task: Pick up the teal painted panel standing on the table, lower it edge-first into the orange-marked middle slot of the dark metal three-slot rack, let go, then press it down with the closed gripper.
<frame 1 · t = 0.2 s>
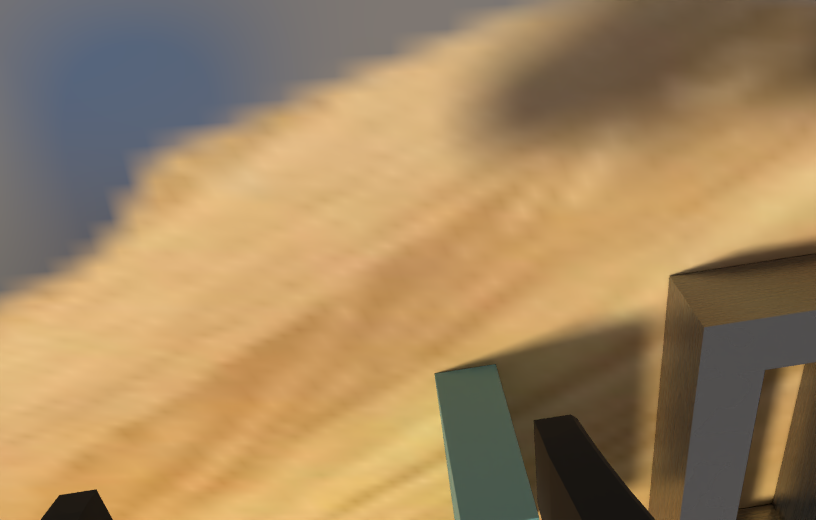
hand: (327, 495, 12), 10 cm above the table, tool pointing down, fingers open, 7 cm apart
panel: (473, 451, 26), on the table
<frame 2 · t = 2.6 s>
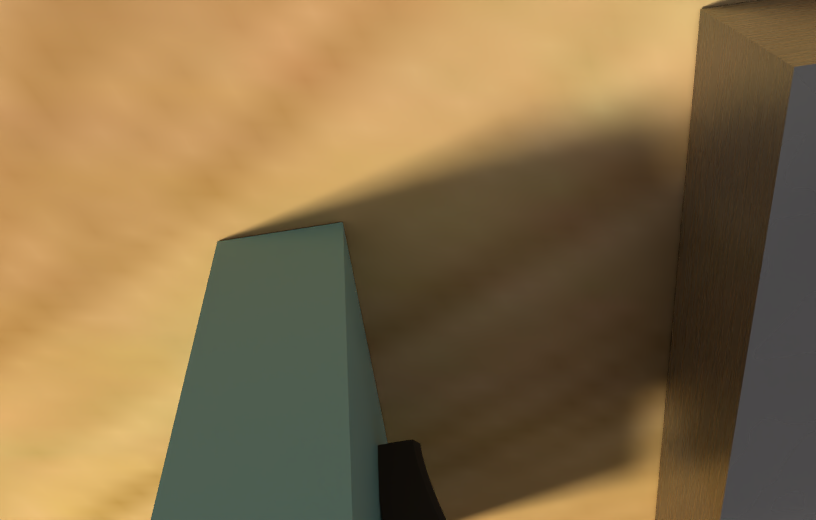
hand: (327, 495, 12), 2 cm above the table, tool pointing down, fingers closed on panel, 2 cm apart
panel: (327, 412, 14), on the table, touching gripper
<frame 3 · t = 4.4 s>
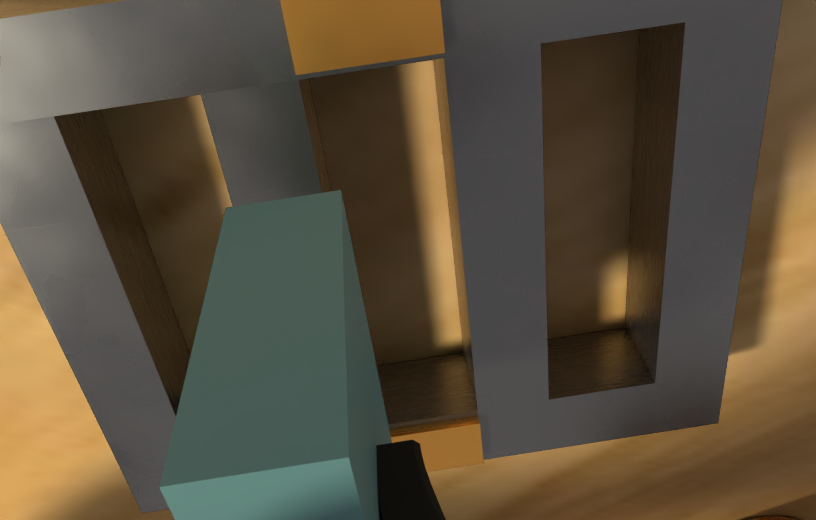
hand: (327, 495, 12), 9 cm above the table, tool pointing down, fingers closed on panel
rack: (393, 219, 20), on the table
panel: (326, 371, 15), point 6 cm above the table, touching gripper
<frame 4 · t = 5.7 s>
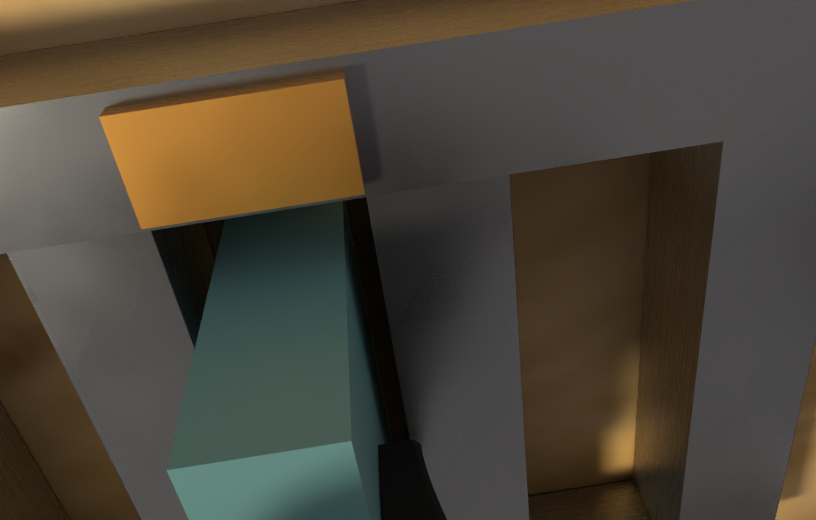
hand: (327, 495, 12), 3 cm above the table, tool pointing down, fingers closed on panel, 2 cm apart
rack: (326, 366, 15), on the table
panel: (327, 365, 15), resting in rack, touching gripper
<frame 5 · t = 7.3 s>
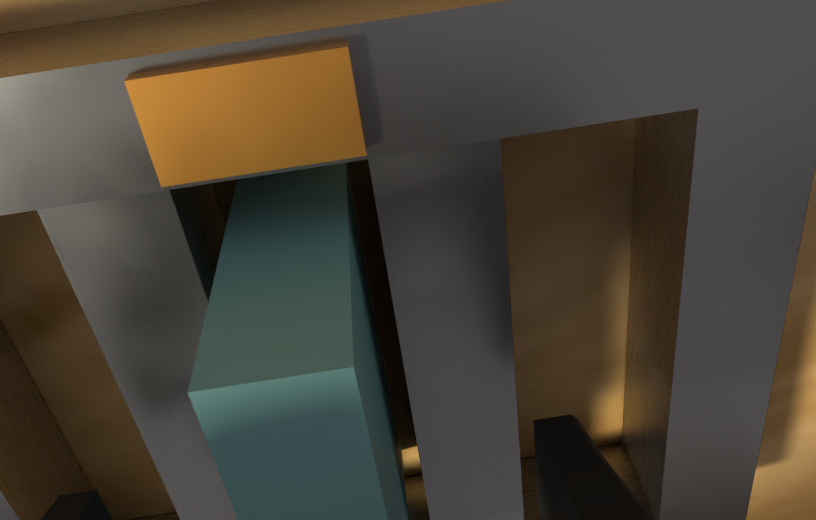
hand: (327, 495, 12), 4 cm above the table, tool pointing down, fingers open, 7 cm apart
rack: (330, 329, 16), on the table
panel: (331, 328, 16), resting in rack
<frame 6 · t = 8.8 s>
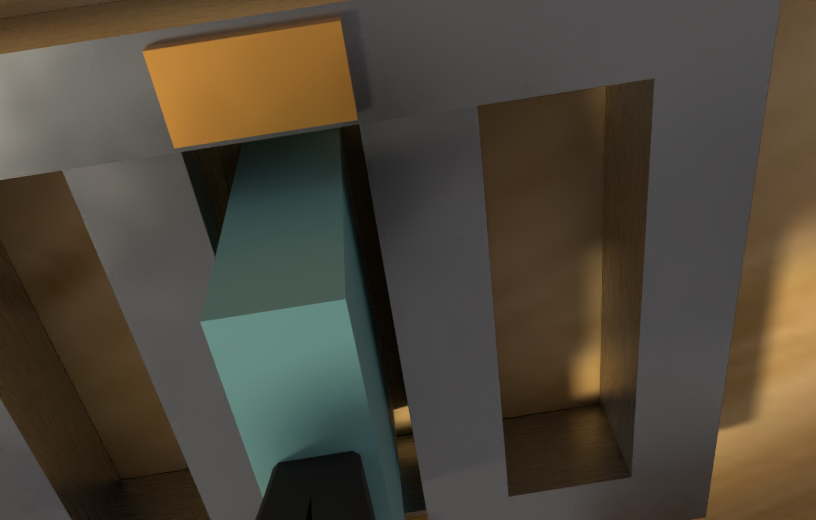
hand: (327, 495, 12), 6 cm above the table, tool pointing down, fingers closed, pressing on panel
rack: (326, 292, 17), on the table
panel: (327, 292, 17), resting in rack, touching gripper
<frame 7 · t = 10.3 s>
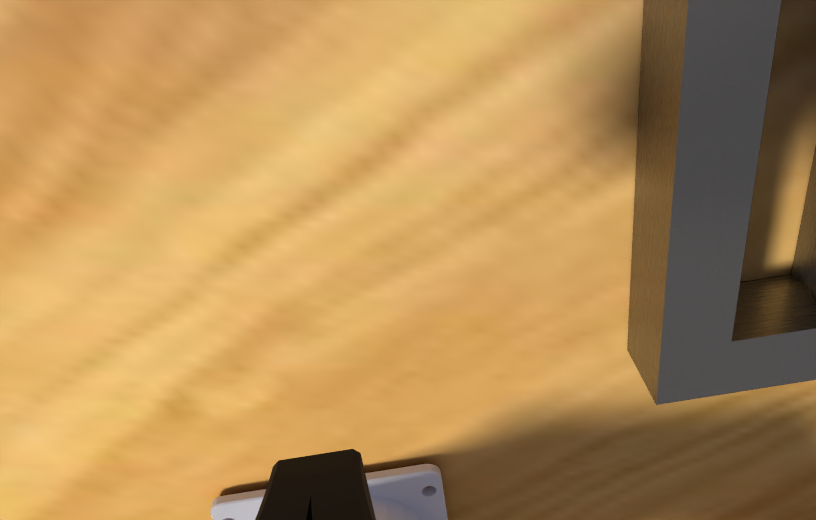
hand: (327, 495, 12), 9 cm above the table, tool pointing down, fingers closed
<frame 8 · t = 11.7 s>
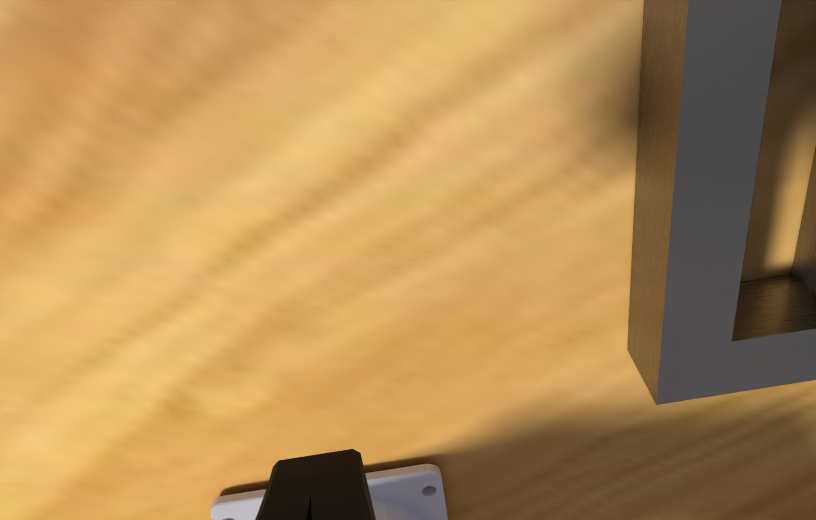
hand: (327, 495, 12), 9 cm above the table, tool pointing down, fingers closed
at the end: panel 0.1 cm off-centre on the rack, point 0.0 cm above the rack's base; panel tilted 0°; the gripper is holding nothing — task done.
